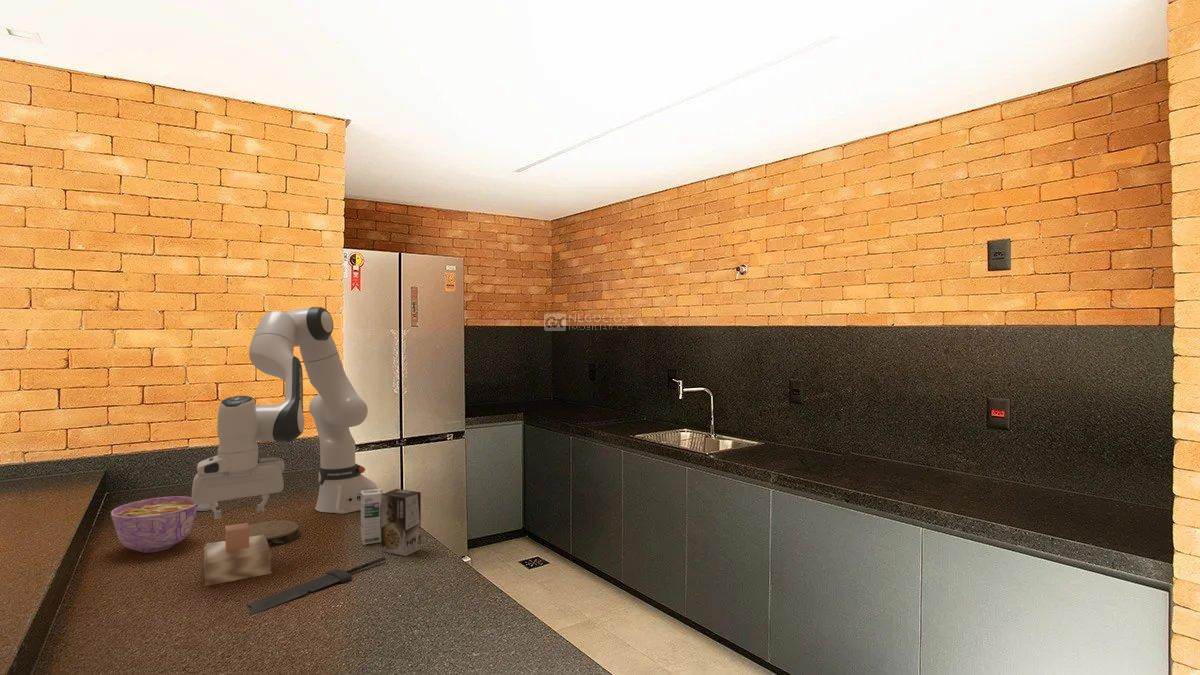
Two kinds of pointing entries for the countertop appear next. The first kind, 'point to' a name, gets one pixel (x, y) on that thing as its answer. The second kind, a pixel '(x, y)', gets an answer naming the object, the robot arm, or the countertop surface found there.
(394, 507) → the brown printed carton
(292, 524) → the brown flat disc
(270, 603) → the flat dark sword
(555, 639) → the countertop surface
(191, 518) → the bowl of food
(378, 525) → the syrup box
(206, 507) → the flask
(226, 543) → the terracotta cube
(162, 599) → the countertop surface
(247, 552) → the cream square block
